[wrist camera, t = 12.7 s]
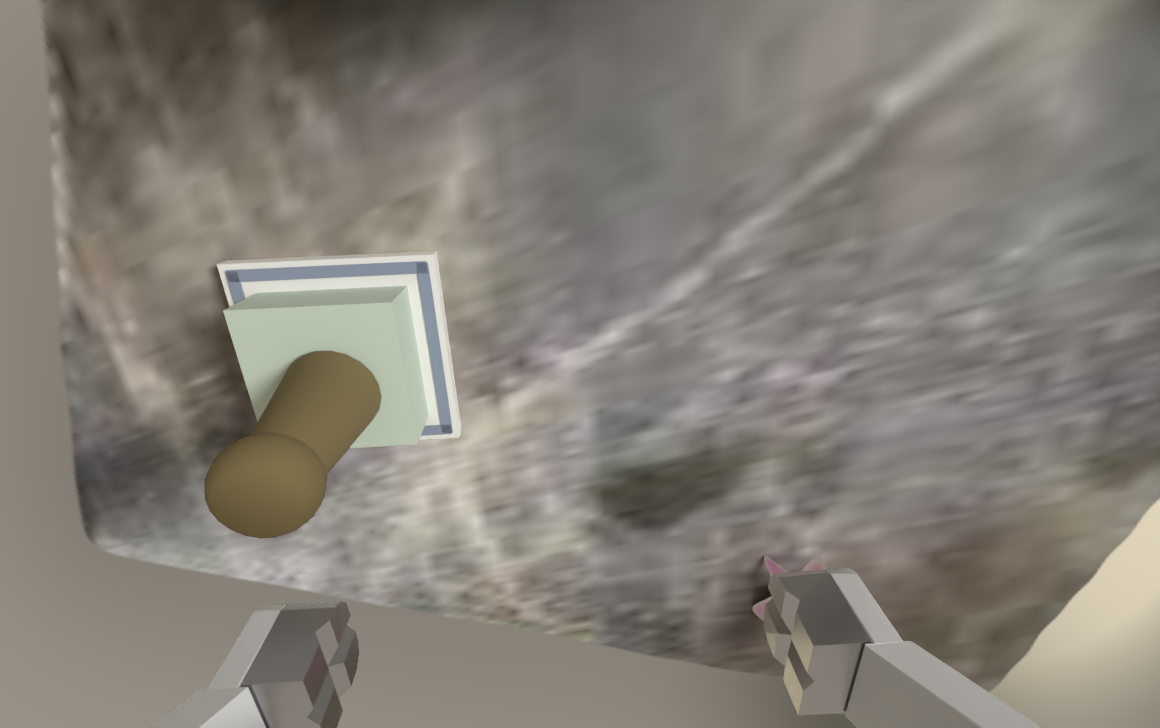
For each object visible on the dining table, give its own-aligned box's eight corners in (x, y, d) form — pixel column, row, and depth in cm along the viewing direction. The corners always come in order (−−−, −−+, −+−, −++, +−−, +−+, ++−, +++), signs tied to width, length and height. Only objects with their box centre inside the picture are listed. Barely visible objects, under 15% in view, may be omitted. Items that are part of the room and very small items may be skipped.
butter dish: (226, 260, 36) (177, 279, 31) (436, 250, 37) (419, 268, 32) (279, 440, 42) (245, 479, 37) (461, 429, 42) (450, 467, 37)
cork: (362, 342, 33) (288, 444, 23) (394, 423, 36) (339, 546, 26) (267, 359, 33) (152, 469, 23) (305, 440, 36) (217, 568, 26)
